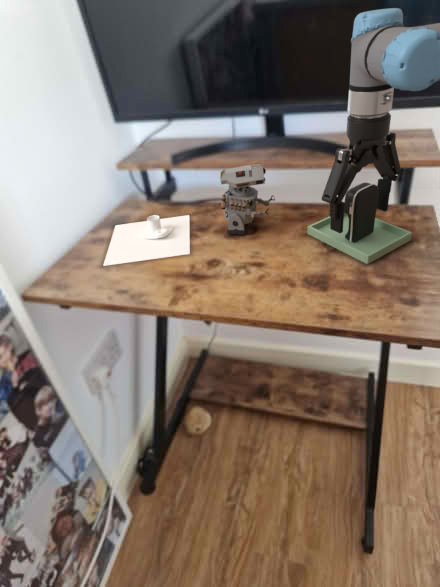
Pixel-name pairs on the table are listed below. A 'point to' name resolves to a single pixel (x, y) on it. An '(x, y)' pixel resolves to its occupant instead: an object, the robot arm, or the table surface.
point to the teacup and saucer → (149, 240)
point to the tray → (365, 248)
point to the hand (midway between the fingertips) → (359, 219)
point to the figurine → (242, 196)
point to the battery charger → (361, 210)
